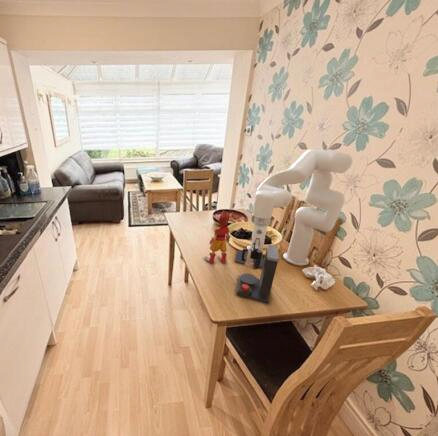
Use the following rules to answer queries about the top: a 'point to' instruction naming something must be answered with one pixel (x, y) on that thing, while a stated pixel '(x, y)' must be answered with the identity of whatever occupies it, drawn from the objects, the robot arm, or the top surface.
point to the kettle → (251, 262)
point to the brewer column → (265, 271)
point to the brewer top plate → (239, 255)
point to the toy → (220, 238)
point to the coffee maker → (252, 292)
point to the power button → (245, 287)
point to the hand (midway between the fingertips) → (254, 254)
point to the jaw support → (319, 277)
